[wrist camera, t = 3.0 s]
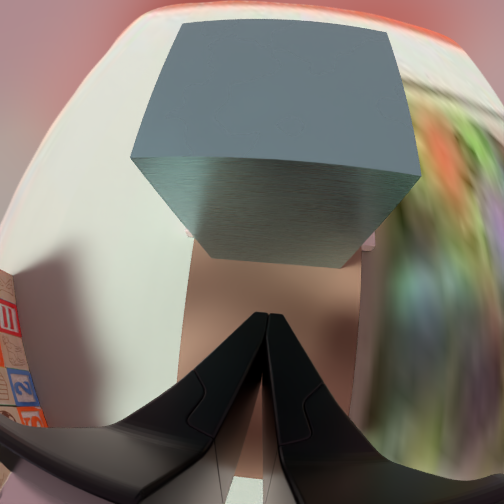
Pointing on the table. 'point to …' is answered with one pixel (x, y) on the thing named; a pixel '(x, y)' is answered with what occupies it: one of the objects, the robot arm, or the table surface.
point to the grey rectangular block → (279, 138)
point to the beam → (274, 301)
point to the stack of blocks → (15, 368)
